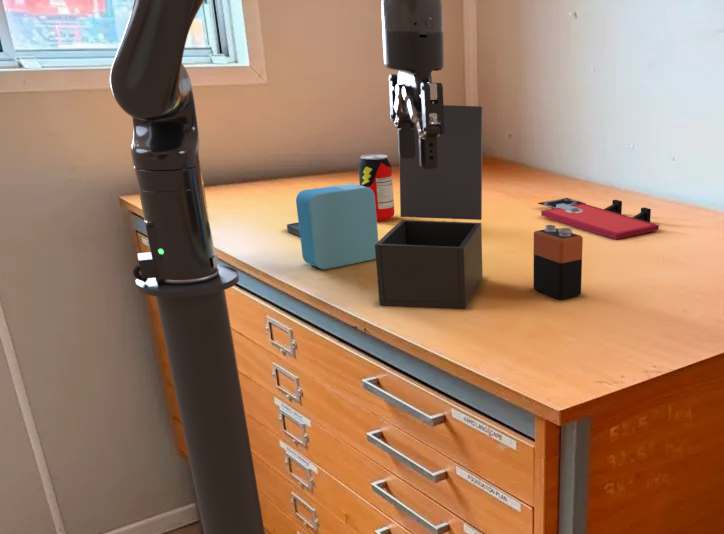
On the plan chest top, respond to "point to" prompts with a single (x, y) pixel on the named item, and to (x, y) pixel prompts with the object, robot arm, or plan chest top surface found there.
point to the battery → (557, 262)
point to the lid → (447, 171)
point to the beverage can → (378, 183)
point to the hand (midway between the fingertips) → (417, 163)
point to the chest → (429, 264)
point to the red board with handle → (599, 218)
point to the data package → (337, 225)
